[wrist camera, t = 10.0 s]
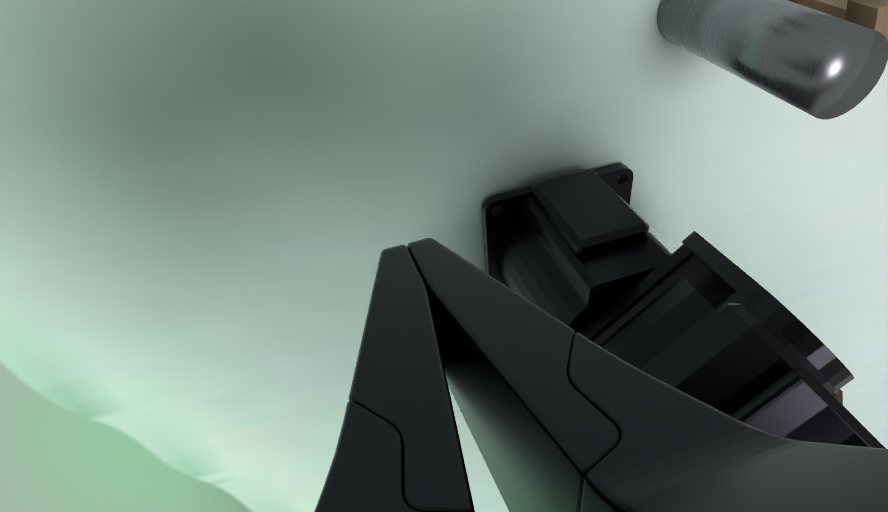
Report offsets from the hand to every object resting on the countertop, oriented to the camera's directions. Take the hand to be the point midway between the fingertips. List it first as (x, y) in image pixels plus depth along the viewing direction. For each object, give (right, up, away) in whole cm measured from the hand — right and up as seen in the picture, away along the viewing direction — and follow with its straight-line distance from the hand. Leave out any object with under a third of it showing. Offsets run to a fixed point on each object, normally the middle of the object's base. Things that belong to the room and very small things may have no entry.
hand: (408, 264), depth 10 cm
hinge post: (+9, +9, +11) cm, 17 cm away
